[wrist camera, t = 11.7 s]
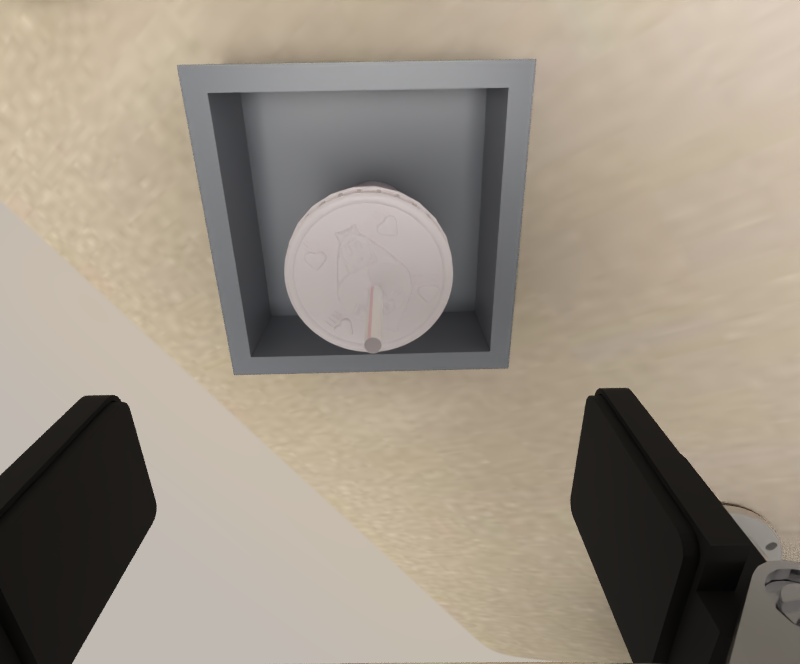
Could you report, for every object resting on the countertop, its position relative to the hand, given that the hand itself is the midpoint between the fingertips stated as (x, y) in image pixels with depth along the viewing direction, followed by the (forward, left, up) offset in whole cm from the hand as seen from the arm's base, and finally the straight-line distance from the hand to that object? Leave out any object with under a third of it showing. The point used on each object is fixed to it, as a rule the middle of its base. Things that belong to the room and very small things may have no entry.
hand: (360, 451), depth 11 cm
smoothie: (0, 0, -19) cm, 19 cm away
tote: (+1, 0, -20) cm, 20 cm away
